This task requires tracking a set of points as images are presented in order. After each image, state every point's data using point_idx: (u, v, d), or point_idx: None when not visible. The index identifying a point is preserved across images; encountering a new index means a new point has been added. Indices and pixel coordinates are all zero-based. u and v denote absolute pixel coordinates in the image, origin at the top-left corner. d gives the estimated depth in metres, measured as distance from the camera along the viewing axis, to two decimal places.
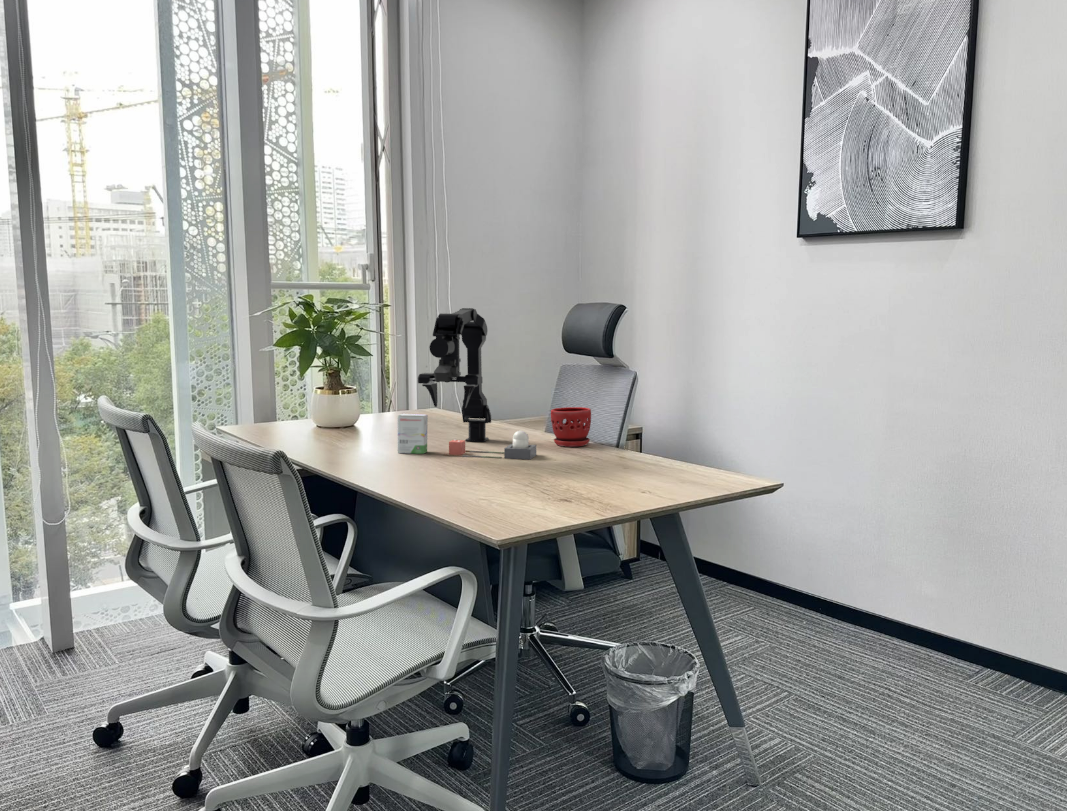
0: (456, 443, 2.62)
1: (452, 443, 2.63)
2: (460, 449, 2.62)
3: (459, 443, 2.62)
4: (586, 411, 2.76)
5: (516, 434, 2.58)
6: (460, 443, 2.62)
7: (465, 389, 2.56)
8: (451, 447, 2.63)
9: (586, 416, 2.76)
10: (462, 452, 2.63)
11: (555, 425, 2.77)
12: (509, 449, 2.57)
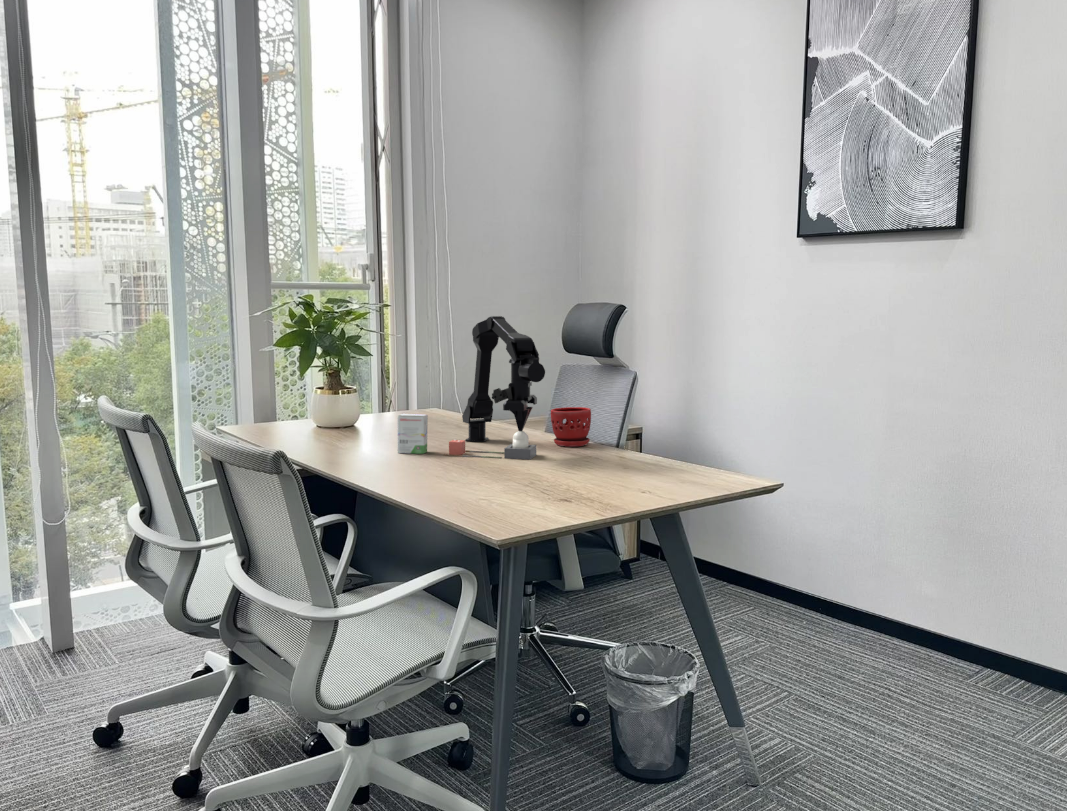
0: (456, 443, 2.62)
1: (452, 443, 2.63)
2: (460, 449, 2.62)
3: (459, 443, 2.62)
4: (586, 411, 2.76)
5: (516, 434, 2.58)
6: (460, 443, 2.62)
7: None
8: (451, 447, 2.63)
9: (586, 416, 2.76)
10: (462, 452, 2.63)
11: (555, 425, 2.77)
12: (509, 449, 2.57)
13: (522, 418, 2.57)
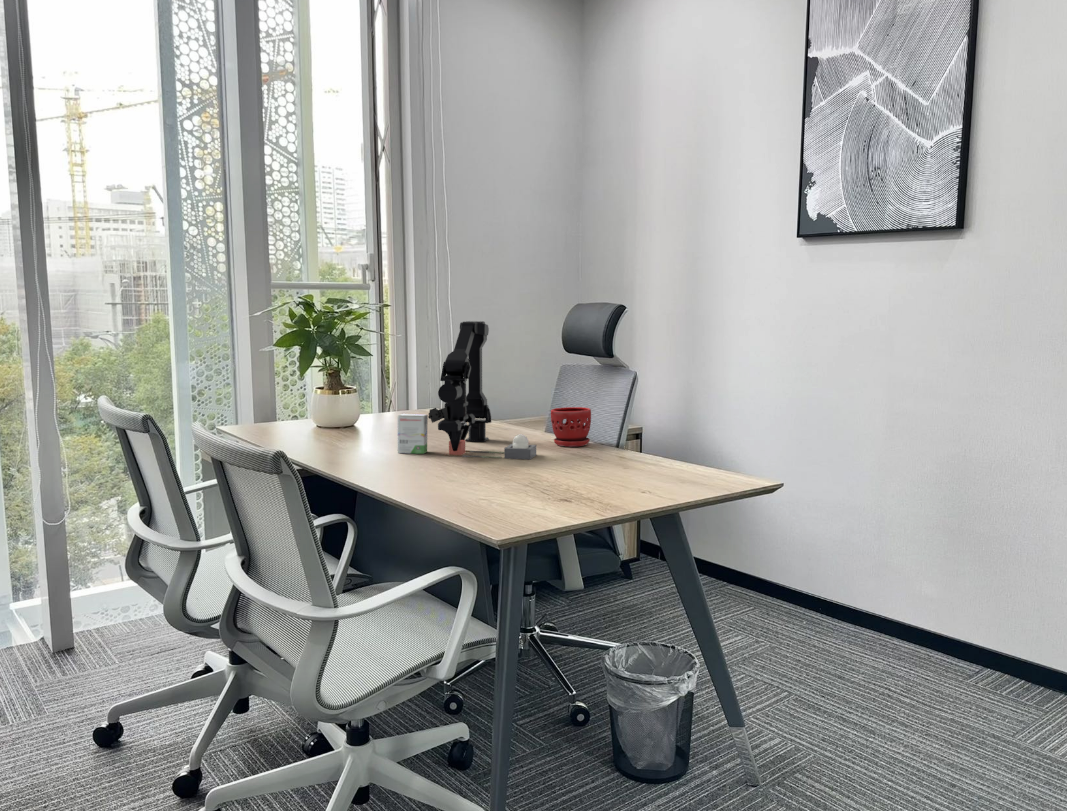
0: None
1: None
2: (460, 449, 2.62)
3: (459, 443, 2.62)
4: (586, 411, 2.76)
5: (516, 438, 2.58)
6: (460, 443, 2.62)
7: None
8: (451, 447, 2.63)
9: (586, 416, 2.76)
10: (462, 452, 2.63)
11: (555, 425, 2.77)
12: (509, 449, 2.57)
13: (456, 438, 2.61)
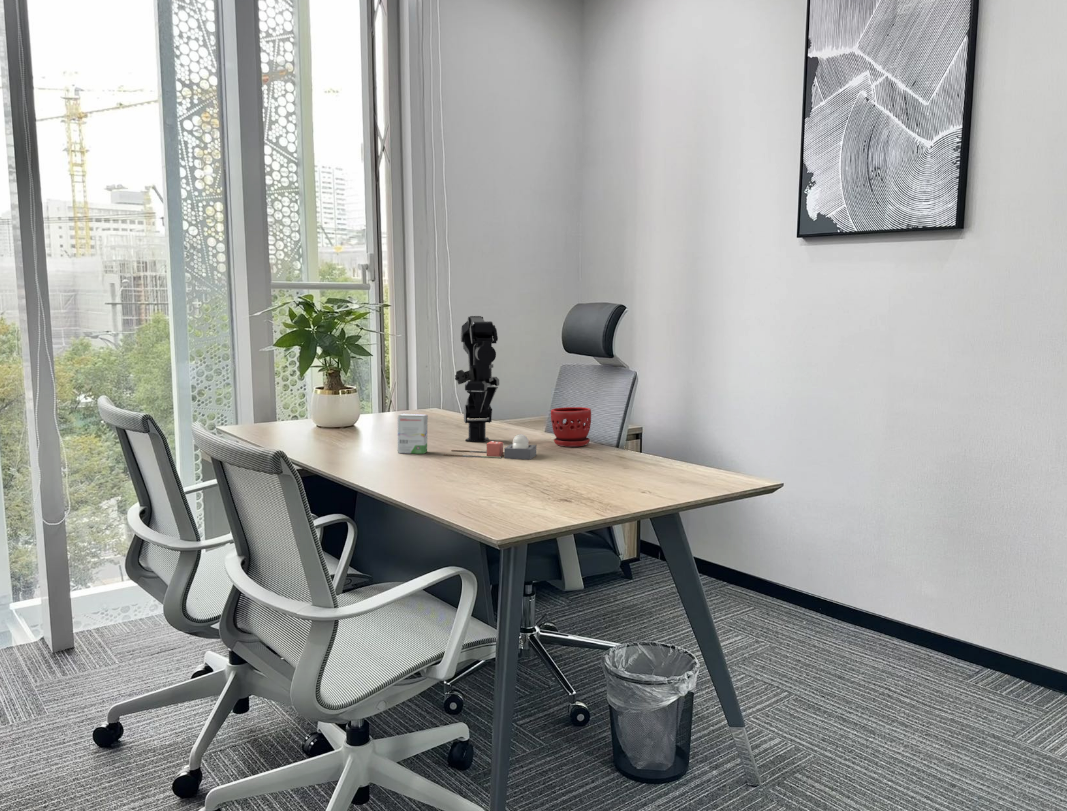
0: (494, 445, 2.60)
1: (490, 445, 2.60)
2: (498, 451, 2.60)
3: (497, 445, 2.60)
4: (586, 411, 2.76)
5: (516, 438, 2.58)
6: (498, 445, 2.59)
7: None
8: (489, 449, 2.60)
9: (586, 416, 2.76)
10: (500, 454, 2.61)
11: (555, 425, 2.77)
12: (509, 449, 2.57)
13: (480, 400, 2.66)
